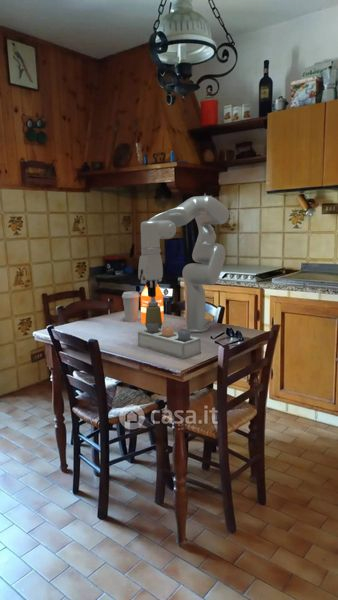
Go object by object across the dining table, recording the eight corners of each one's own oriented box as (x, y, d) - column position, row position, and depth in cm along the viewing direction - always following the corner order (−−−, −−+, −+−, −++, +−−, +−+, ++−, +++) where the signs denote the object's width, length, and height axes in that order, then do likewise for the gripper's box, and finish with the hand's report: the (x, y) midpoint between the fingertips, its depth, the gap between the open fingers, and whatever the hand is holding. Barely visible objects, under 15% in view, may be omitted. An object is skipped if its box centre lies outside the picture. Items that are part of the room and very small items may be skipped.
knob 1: (153, 333, 183) (153, 322, 182) (161, 335, 179) (161, 324, 178) (145, 336, 179) (144, 324, 178) (152, 338, 176) (152, 326, 175)
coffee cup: (140, 322, 221) (139, 294, 218) (121, 322, 221) (120, 294, 218) (141, 318, 230) (140, 290, 227) (123, 318, 230) (122, 291, 227)
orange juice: (141, 323, 219) (139, 284, 215) (153, 320, 225) (152, 282, 222) (152, 325, 214) (150, 286, 210) (164, 322, 220) (163, 283, 217)
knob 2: (184, 341, 170) (183, 329, 169) (193, 343, 167) (192, 331, 166) (175, 344, 167) (175, 331, 166) (184, 346, 163) (184, 334, 162)
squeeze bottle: (149, 334, 196) (148, 296, 193) (142, 331, 203) (141, 294, 200) (165, 332, 200) (164, 294, 196) (157, 328, 207) (156, 292, 204)
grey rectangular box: (155, 340, 186) (155, 327, 185) (200, 353, 168) (200, 338, 167) (138, 345, 179) (137, 332, 178) (183, 359, 161) (182, 343, 160)
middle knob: (168, 337, 176) (168, 325, 175) (176, 339, 173) (176, 327, 172) (159, 340, 173) (159, 328, 172) (168, 342, 170) (167, 330, 169)
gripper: (157, 250, 180) (158, 293, 184) (130, 252, 170) (132, 298, 174) (170, 251, 175) (171, 295, 179) (142, 253, 165) (144, 300, 168)
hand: (151, 296), depth 176 cm, fingers closed
